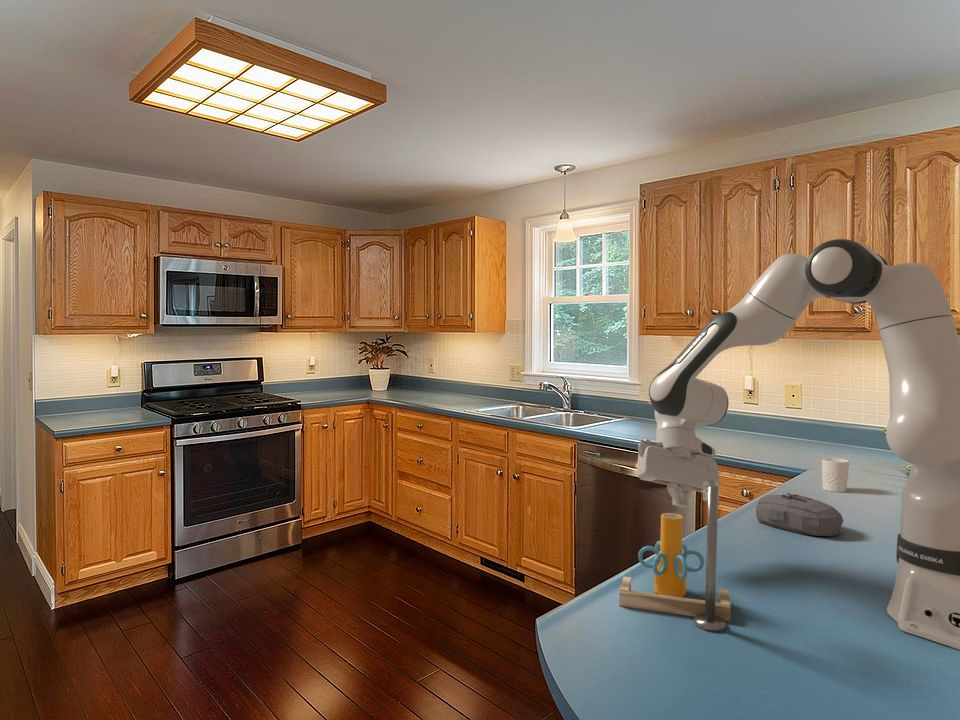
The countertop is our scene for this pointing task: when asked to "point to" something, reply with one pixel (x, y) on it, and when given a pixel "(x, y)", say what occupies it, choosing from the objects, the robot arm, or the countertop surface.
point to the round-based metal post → (710, 561)
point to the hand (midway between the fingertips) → (680, 505)
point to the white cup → (834, 474)
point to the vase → (670, 558)
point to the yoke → (671, 602)
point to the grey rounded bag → (799, 515)
